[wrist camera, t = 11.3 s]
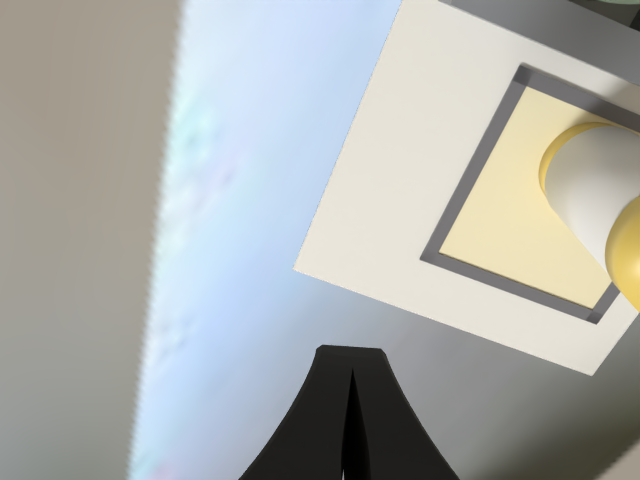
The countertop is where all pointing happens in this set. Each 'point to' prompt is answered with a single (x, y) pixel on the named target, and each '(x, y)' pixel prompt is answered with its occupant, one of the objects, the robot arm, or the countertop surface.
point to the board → (472, 186)
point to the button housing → (566, 31)
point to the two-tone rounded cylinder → (599, 196)
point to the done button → (619, 1)
